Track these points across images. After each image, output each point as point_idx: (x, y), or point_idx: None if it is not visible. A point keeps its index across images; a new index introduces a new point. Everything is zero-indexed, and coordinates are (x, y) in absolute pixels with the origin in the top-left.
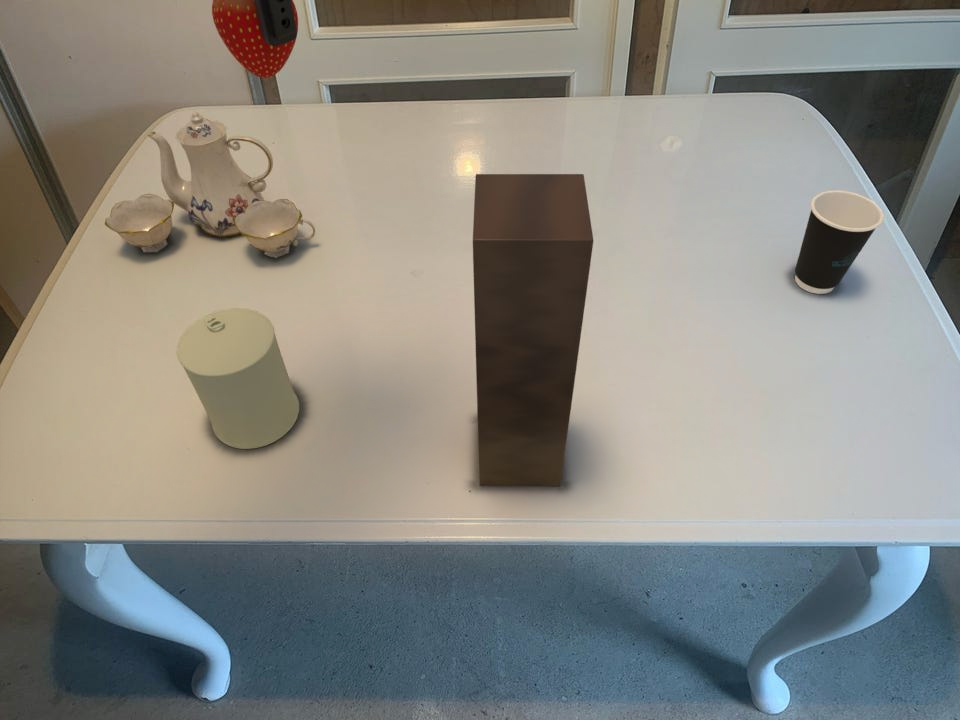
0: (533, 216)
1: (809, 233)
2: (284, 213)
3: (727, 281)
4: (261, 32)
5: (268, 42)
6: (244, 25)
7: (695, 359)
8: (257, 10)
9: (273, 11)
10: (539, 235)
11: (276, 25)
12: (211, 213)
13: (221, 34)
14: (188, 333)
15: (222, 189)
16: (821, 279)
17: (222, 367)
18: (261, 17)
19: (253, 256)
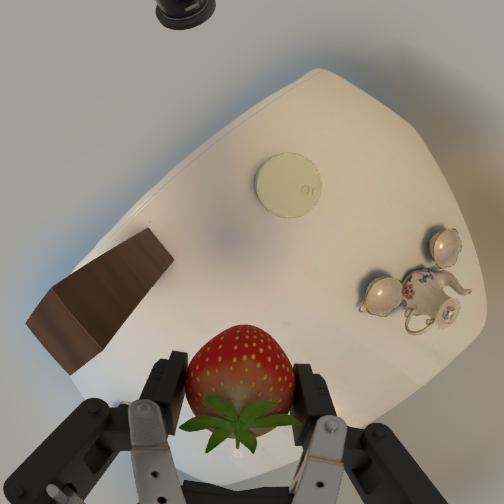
0: (51, 326)
1: None
2: (383, 308)
3: None
4: (183, 358)
5: (174, 351)
6: (203, 356)
7: (129, 349)
8: (173, 377)
9: (147, 382)
10: (37, 312)
11: (152, 370)
12: (418, 278)
13: (249, 334)
14: (315, 174)
15: (421, 294)
16: (120, 406)
17: (270, 167)
18: (168, 371)
19: (382, 273)
